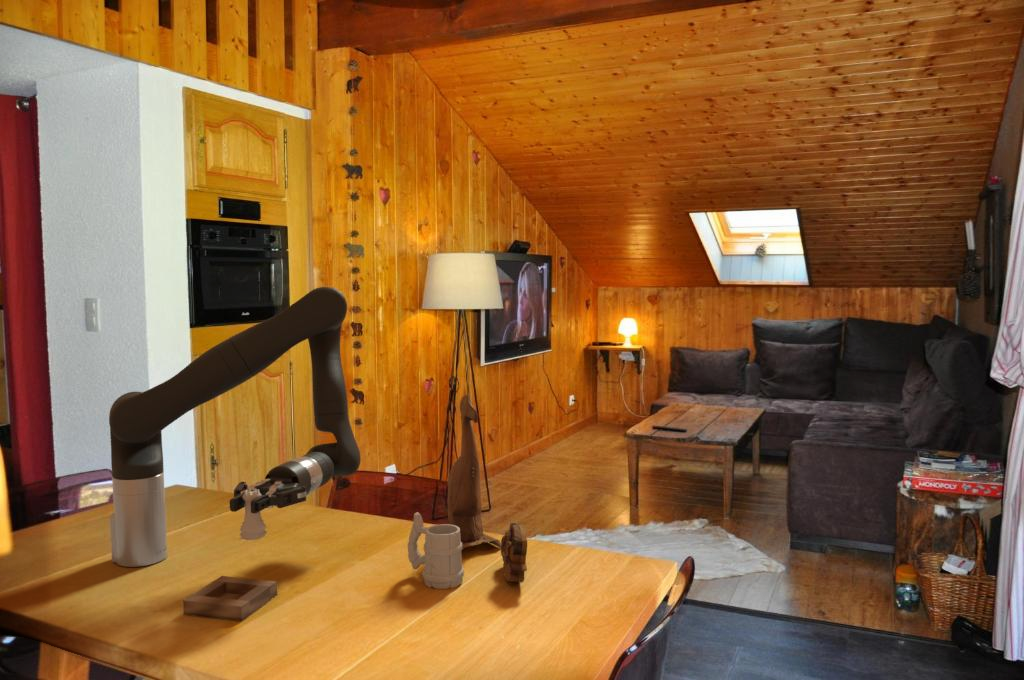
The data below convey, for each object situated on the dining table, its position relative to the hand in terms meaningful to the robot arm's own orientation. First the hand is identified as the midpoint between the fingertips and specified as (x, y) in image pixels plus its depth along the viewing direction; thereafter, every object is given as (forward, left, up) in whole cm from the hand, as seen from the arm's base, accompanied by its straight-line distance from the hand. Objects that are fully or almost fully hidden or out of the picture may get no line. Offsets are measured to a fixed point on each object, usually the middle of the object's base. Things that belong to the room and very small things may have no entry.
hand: (242, 506), depth 137 cm
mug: (+27, +20, -18) cm, 38 cm away
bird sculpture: (+27, +38, -18) cm, 50 cm away
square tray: (-3, +1, -18) cm, 18 cm away
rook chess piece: (0, +3, -6) cm, 7 cm away
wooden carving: (+41, +24, -18) cm, 50 cm away
